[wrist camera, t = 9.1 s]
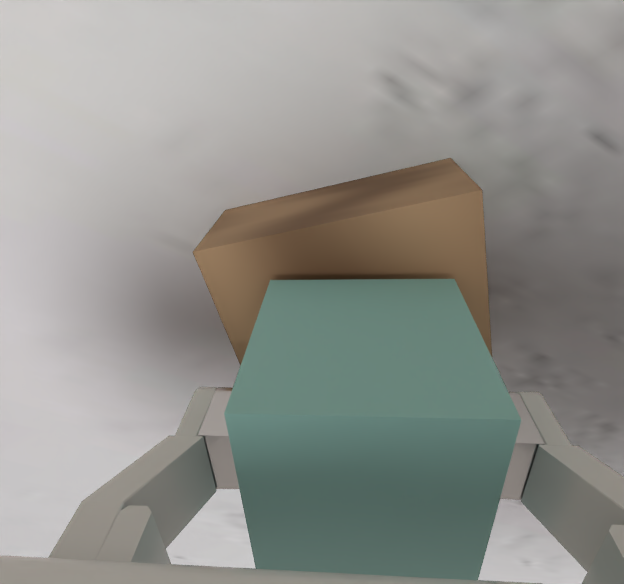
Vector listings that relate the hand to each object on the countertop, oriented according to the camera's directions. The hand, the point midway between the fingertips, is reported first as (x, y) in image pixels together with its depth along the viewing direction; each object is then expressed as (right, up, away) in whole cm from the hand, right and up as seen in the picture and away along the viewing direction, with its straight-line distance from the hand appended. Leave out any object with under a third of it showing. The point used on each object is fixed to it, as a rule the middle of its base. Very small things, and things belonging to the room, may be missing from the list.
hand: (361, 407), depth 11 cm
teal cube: (0, +1, +2) cm, 2 cm away
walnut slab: (0, +3, +6) cm, 7 cm away
